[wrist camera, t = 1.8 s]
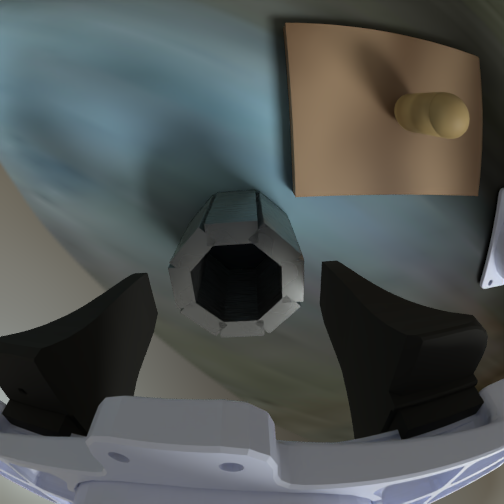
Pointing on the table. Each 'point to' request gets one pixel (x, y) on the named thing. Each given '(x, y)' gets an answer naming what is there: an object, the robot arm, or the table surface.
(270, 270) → the octagonal steel tube
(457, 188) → the brown peg board
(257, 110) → the table surface
